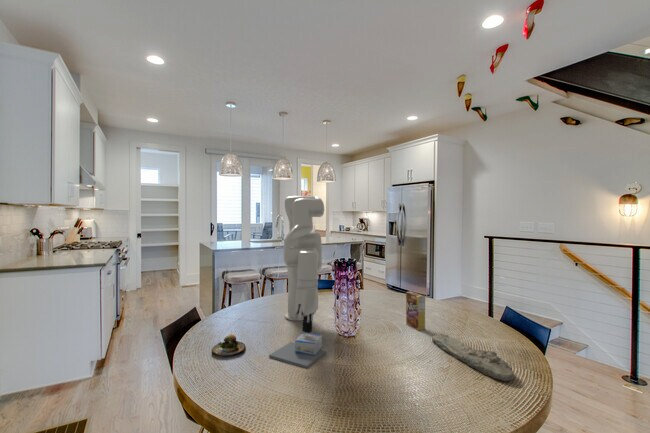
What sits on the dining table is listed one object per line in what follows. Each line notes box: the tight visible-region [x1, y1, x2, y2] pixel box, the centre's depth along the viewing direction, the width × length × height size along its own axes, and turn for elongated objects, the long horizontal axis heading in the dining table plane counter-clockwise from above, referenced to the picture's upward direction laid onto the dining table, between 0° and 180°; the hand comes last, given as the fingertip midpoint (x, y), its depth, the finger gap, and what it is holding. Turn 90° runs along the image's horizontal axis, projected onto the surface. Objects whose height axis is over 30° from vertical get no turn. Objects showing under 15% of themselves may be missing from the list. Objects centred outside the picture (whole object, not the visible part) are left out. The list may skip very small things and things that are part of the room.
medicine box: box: [294, 332, 323, 355], centre depth 116 cm, size 8×4×9 cm
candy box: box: [405, 290, 426, 331], centre depth 143 cm, size 9×4×15 cm, turn 23°
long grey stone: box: [431, 333, 516, 382], centre depth 112 cm, size 35×5×10 cm
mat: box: [268, 341, 327, 369], centre depth 113 cm, size 13×16×1 cm
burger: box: [211, 328, 247, 356], centre depth 116 cm, size 12×12×8 cm
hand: (307, 331), depth 118 cm, fingers closed
